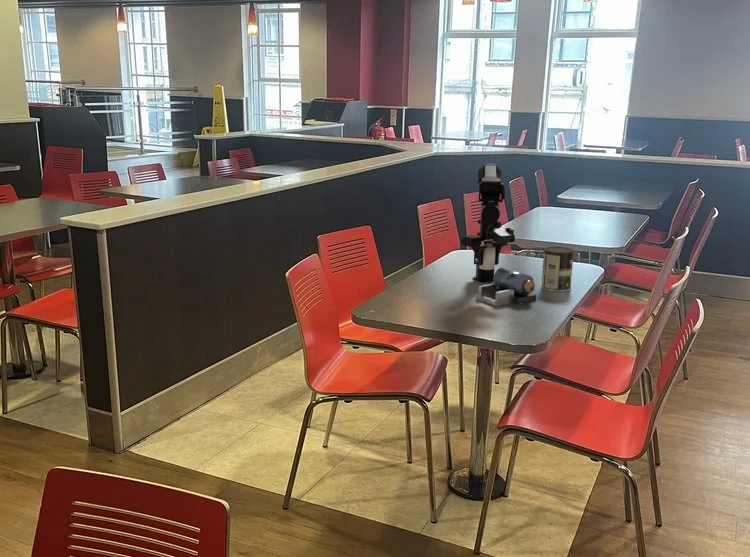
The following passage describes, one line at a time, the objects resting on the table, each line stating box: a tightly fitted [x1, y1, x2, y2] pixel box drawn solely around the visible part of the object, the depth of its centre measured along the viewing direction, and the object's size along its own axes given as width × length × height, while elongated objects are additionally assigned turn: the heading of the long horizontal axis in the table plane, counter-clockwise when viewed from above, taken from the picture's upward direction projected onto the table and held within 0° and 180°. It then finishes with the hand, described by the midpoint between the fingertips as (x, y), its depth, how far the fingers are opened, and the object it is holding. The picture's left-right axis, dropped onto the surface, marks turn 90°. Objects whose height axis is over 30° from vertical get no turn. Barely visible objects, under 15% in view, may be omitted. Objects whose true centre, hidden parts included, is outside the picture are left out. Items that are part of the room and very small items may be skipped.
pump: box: [479, 243, 496, 270], centre depth 230 cm, size 5×5×8 cm
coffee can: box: [541, 246, 575, 293], centre depth 245 cm, size 10×10×14 cm
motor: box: [475, 267, 537, 307], centre depth 232 cm, size 15×16×9 cm
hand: (487, 264), depth 231 cm, fingers closed on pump, 5 cm apart
